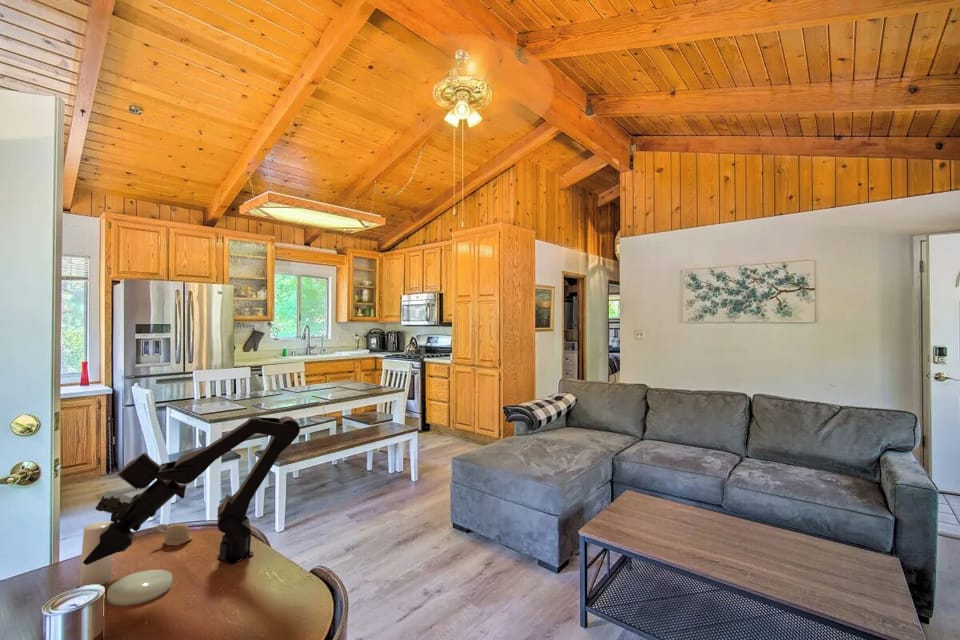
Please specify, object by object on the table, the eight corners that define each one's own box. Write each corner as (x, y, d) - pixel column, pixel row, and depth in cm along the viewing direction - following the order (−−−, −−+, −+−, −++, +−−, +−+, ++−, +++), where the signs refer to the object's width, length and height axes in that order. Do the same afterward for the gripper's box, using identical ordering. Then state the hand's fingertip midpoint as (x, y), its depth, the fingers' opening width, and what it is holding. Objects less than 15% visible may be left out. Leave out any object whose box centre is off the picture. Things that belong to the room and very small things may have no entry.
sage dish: (155, 570, 111) (156, 564, 112) (182, 586, 106) (183, 579, 106) (96, 594, 101) (97, 587, 101) (122, 612, 95) (123, 605, 95)
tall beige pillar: (103, 573, 109) (108, 519, 110) (114, 580, 107) (119, 524, 107) (74, 583, 104) (79, 527, 105) (85, 591, 102) (90, 533, 102)
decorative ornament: (187, 545, 125) (188, 525, 125) (153, 546, 123) (155, 526, 124) (193, 538, 129) (194, 519, 129) (160, 539, 127) (162, 520, 128)
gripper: (130, 468, 116) (70, 518, 110) (116, 492, 100) (45, 552, 94) (165, 495, 120) (109, 544, 114) (156, 522, 104) (91, 581, 98)
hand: (89, 554), depth 105 cm, fingers open, 9 cm apart
